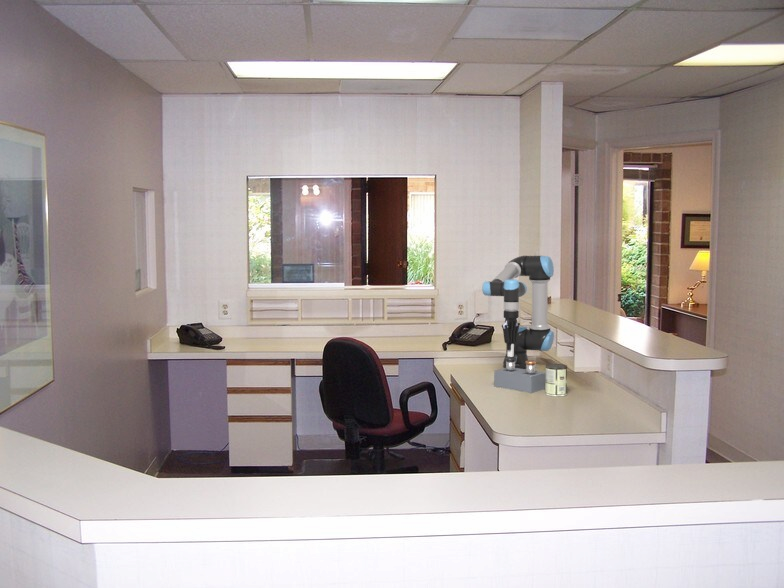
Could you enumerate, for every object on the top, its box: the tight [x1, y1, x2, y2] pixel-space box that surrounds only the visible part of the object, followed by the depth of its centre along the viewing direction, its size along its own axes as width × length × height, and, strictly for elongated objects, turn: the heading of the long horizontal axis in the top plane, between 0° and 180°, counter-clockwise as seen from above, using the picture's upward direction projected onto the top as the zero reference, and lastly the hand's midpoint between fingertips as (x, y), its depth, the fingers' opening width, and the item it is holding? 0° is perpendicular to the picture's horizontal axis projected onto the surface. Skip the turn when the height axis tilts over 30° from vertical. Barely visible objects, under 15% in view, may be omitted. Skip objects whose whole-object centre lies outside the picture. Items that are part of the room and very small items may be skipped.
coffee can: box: [544, 363, 568, 398], centre depth 343 cm, size 10×10×14 cm
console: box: [493, 367, 546, 394], centre depth 358 cm, size 14×22×8 cm, turn 46°
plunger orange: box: [525, 359, 537, 375], centre depth 354 cm, size 5×5×8 cm
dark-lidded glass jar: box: [504, 357, 516, 372], centre depth 362 cm, size 5×5×8 cm
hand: (510, 356), depth 362 cm, fingers closed
